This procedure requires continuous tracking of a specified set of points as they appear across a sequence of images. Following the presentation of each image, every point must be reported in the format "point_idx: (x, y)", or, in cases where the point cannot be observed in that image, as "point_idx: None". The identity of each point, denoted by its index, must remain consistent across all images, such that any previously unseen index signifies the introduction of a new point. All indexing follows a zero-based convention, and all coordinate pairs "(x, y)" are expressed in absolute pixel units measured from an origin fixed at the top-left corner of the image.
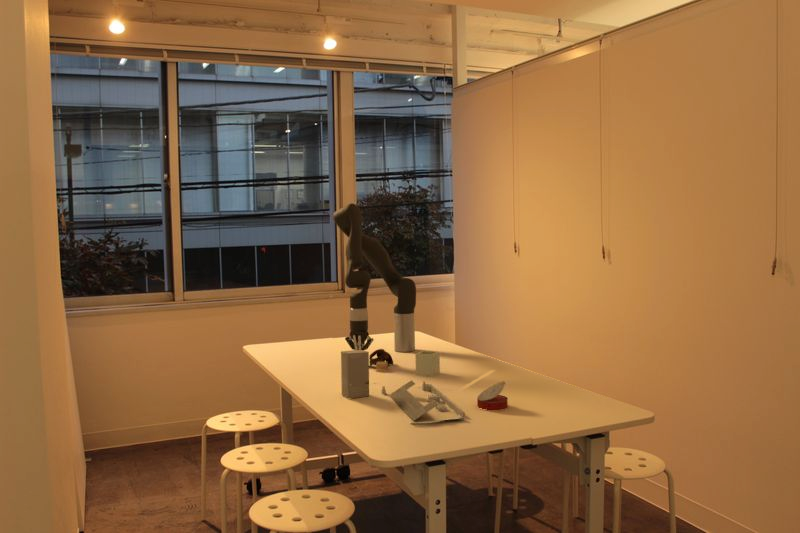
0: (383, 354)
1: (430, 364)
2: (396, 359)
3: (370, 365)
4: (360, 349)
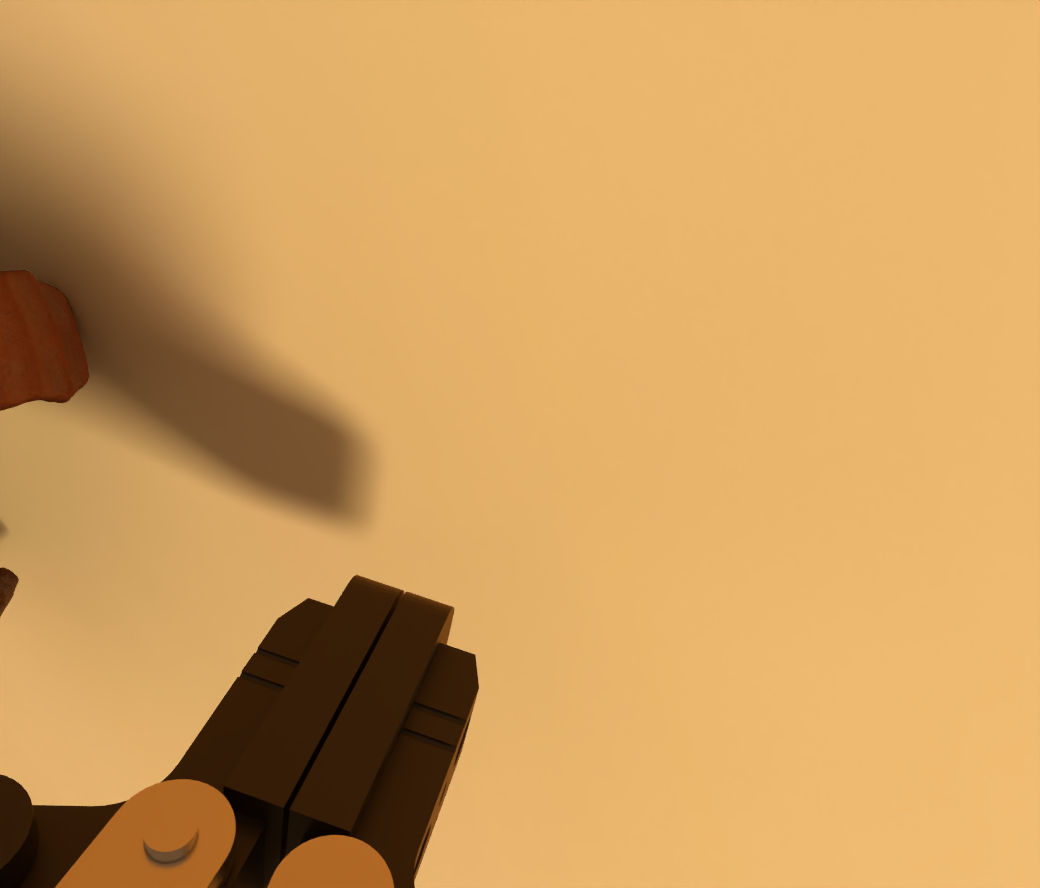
0: None
1: None
2: None
3: (10, 272)
4: (120, 852)
